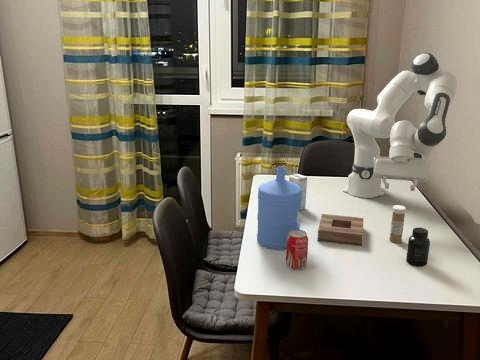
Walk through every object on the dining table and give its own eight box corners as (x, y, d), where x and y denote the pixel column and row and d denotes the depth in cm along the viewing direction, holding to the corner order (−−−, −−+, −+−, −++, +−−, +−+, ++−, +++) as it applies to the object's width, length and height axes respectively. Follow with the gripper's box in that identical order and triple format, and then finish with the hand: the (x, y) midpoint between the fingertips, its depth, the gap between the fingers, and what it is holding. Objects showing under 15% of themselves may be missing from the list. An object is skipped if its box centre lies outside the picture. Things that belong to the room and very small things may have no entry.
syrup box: (287, 207, 210) (288, 175, 206) (297, 204, 214) (298, 173, 209) (296, 211, 206) (297, 179, 201) (306, 208, 209) (307, 176, 205)
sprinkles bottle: (391, 237, 182) (395, 203, 178) (403, 240, 180) (407, 206, 176) (387, 241, 179) (391, 207, 175) (399, 244, 176) (403, 210, 172)
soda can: (288, 259, 165) (290, 227, 161) (309, 263, 162) (311, 230, 158) (282, 268, 158) (284, 235, 155) (303, 273, 156) (305, 239, 152)
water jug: (274, 255, 168) (276, 178, 159) (248, 238, 180) (249, 166, 171) (308, 244, 176) (312, 170, 167) (281, 229, 188) (284, 160, 179)
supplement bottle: (430, 262, 163) (435, 230, 159) (421, 269, 159) (426, 236, 155) (411, 256, 168) (415, 224, 164) (401, 262, 163) (406, 230, 160)
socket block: (321, 224, 193) (322, 213, 192) (362, 228, 189) (363, 217, 188) (317, 241, 178) (318, 229, 177) (361, 246, 175) (363, 234, 173)
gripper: (374, 151, 190) (372, 183, 184) (429, 155, 186) (428, 187, 180) (372, 159, 196) (370, 190, 190) (426, 163, 191) (425, 194, 185)
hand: (399, 189), depth 185 cm, fingers open, 8 cm apart
